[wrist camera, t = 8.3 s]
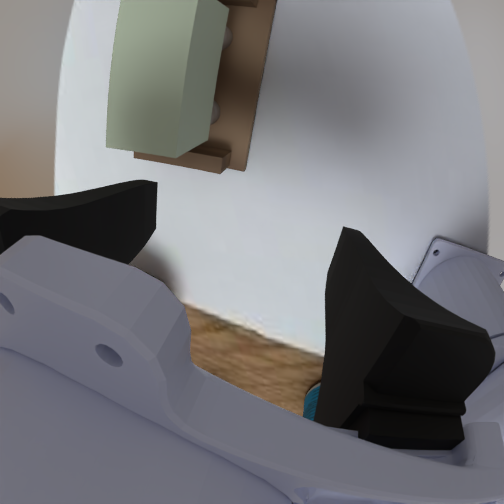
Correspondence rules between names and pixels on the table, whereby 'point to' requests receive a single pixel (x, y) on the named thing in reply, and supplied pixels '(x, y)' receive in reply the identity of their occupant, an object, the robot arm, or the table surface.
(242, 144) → the peg frame
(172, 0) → the pale green block
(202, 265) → the table surface
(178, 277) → the table surface
